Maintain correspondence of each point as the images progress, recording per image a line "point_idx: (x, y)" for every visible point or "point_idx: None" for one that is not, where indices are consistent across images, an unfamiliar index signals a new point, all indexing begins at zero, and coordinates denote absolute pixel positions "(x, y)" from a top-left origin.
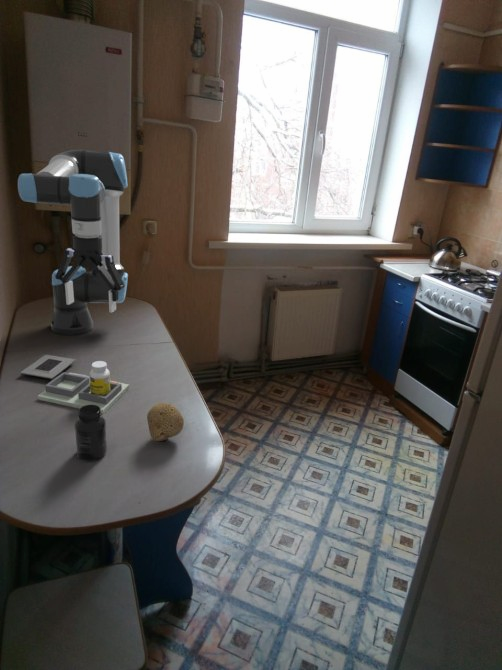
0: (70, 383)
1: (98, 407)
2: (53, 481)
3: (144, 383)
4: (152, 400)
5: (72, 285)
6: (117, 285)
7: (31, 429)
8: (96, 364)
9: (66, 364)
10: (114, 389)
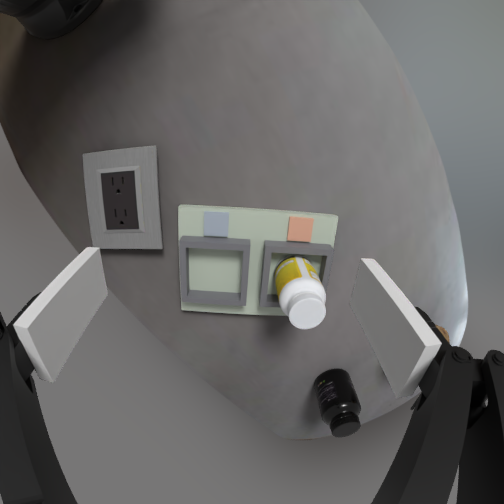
0: (209, 252)
1: (357, 423)
2: (307, 414)
3: (360, 185)
4: (389, 246)
5: (46, 311)
6: (469, 419)
7: (229, 368)
8: (301, 317)
9: (151, 179)
10: (327, 275)
